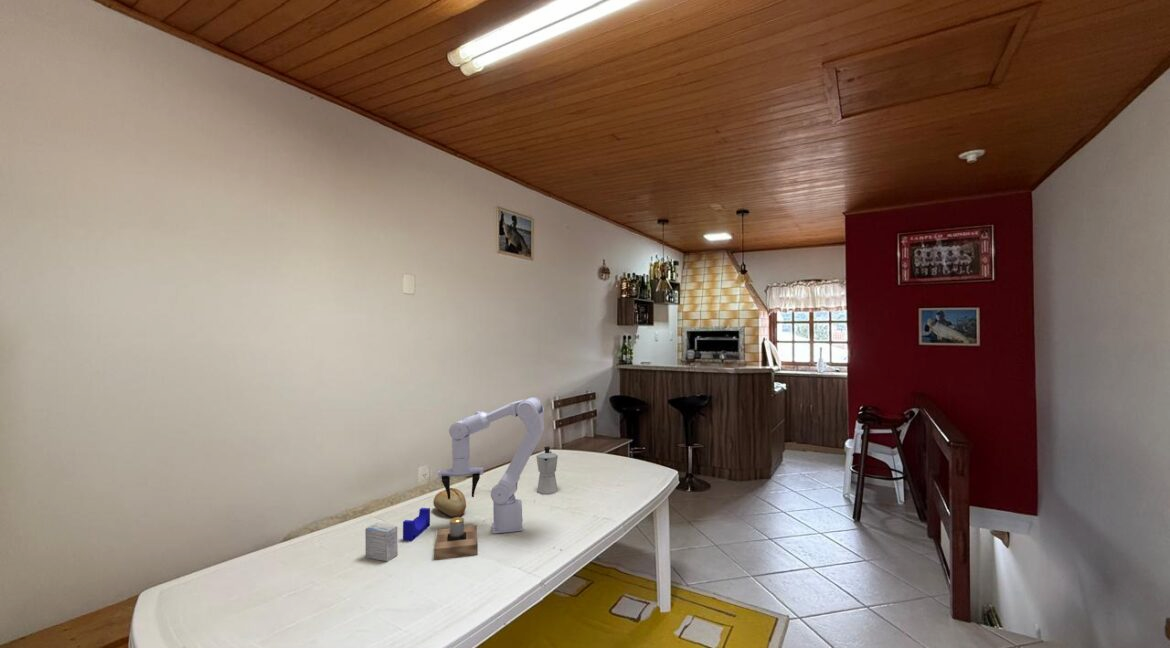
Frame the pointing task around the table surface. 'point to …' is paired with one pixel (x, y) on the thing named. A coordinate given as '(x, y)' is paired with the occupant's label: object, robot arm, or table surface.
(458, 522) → the peg
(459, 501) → the bread roll
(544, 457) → the coffee maker
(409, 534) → the blue cradle block
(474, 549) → the dock plate
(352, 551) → the table surface
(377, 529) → the medicine box
